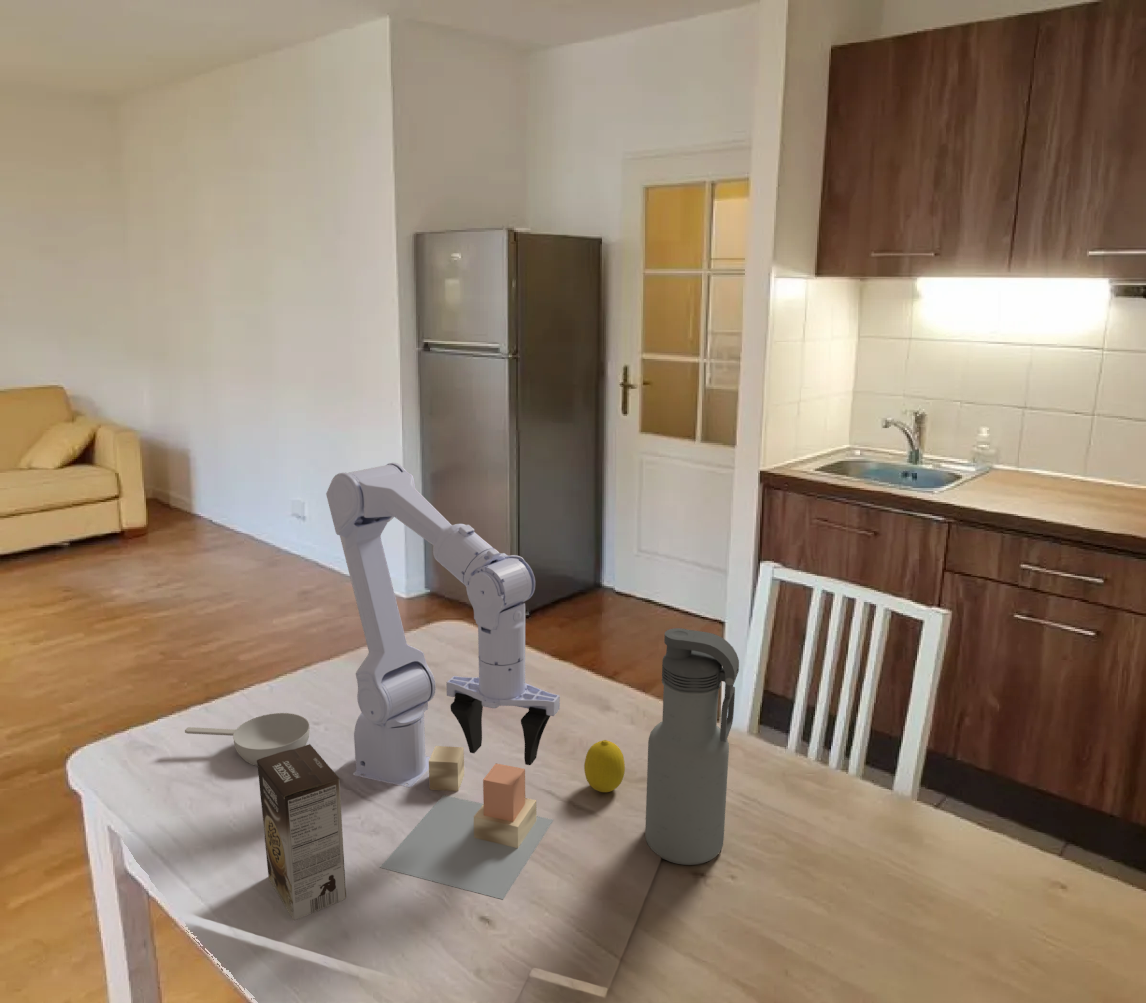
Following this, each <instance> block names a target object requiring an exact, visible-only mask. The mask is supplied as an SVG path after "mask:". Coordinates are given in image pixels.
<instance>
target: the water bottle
mask: <svg viewBox="0 0 1146 1003" xmlns="http://www.w3.org/2000/svg"><path fill="white" fill-rule="evenodd" d="M663 640H664V642H663V643H664V645H666V652H665V655H663V657H662V661H661V662H662V663H661V664H662V666H661V667H662V668H661V670H662V671H661V683H662V686H663V691H662V692H663V694H662V696H663V698H662V720H661V721H660V722H659V723H657V724H656V725H655V726H654V727H653V729H652V730H651V732H650V734H649V735H648V740H647V741H648V742H647V768H646V769H647V770H646V771H647V772H646V798H645V827H644V829H645V831H644V832H645V833H644V834H645V841H646V843H647V845H648V847H649V848H650V849H651V850H652V851H653V853H655V854H656V855H657V856H659V857H661V859H663V860H665V861H667V862H670V863H673V864H677V865H684V866H692V865H701V864H705V863H706V862H710V861H712V860H713V859H714V858H716V857H717V856H718V855H719V854H720V852H722V849H723V846H724V840H725V825H726V824H725V823H726V806H727V788H728V787H727V786H728V771H729V756H730V754H729V753H730V746H729V740H728V738H729V734H730V731H731V729H732V726H733V721H734V713H735V712H734V711H735V696H736V687H735V686H734V685H735V682H736V679H737V677H738V674H739V672H740V659H739V657H738V654H737V652H736V650H735V649H734V646H732V645H731V644H730V643H729V642H728V640H726V639H725V638H723V637H722V636H719V635H717V634H715V633H711V632H707V631H700V630H694V629H693V630H692V629H687V628H682V627H681V628H680V627H679V628H677V627H676V628H670V629H667V630H665V632H664V639H663ZM722 682H724V698H723V701H722V703H721V704H722V706H721V712H720V727H719V726H718V725H717V723H718V707H719V706H718V705H719V690H720V689H721V686H722Z"/></svg>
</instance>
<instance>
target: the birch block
mask: <svg viewBox="0 0 1146 1003" xmlns="http://www.w3.org/2000/svg"><path fill="white" fill-rule="evenodd" d="M464 750H465V748H464V746H463V747H462V746H446V745H445V746H444V745H435V746H434V748H433V751H432V753H431V755H430V756H429V757H430V759H429V770H428V780H429V782H428V783H429V784H428V785H429V790H431V791H433V790H435V791H445V792H446V791H448V792H449V791H450V792H459V791H460V788H461V785H462V783H463V780H464V777H465V752H464Z"/></svg>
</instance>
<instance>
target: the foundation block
mask: <svg viewBox="0 0 1146 1003" xmlns="http://www.w3.org/2000/svg"><path fill="white" fill-rule="evenodd" d="M482 804H483V805H482V807H481V808H480V809H479V811H478V812H477V813H476V814H475V816H474V838H477V839H481V840H486V841H490V842H494V843H498V844H502V845H507V846H511V847H515V848H519V846H520V845H521V843H522V842H523V840H524V839H525V837H526V836H527V834H528V833H529V831H530V830H531V828H532V827H533V825H534V824H535V822H536V816H537V800H536V799H533V798H528V797H527V798H526V797H525V805H524V806H523V808H522V810H521V811H520V813H519V814H518V816H517V817H516V819H515V820H514V822H513V821H508V820H503V819H498V818H494V817H489V816H484V803H482Z"/></svg>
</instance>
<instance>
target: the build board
mask: <svg viewBox="0 0 1146 1003" xmlns="http://www.w3.org/2000/svg"><path fill="white" fill-rule="evenodd" d="M483 804H484V803H483V802H482V803H481V802H477V801H472V800H468V799H463V798H459V797H456V796H450V795H446V794H445V795H444V794H443V795H441V797H440V798H439V799H438V801H437V802H436V803H435V804H434V805H433V806H432V808H430V809H429V811H428V812H427V813H426V814H425V816H423V818H422V819H420V821H419V822H418V823H417V824H416V826H414V828H413V829H412V831H410V832H409V833H408V835H407V836H406V837H405V838H404V839H403V840H402V841H401V843H400V844H399V845H398V846H397V847H396V848H395V849H394V851H393V852H392V853H391V854H390V855H389V856H388V857H387V859H386V860H385V861H384V862H383V863H382V865H381V866H380V867H379V868H381V869H384V870H388V871H392V872H396V873H399V874H403V875H407V876H410V877H414V878H419V879H422V880H426V881H430V882H434V883H437V884H441V885H445V886H450V887H451V888H457V889H460V890H464V891H468V892H472V893H475V894H480V895H484V896H486V897H491V898H495V899H499V900H504V899H505V897H506V895H507V894H508V893H509V891H510V890H511V888H512V886H513V885H514V884H515V881H516V880H517V878H518V877H519V875H520V874H521V872H522V870H524V867H525V866H526V865H527V862H528V861H529V860H530V858H531V856H532V855H533V854H534V852H535V850H536V848H537V847H538V846H539V844H540V842H541V841H542V839H543V838H544V836H545V834H546V833H547V831H548V829H549V828H550V826H551V825H552V824H553V822H554V819H553V818H548V817H543V816H539V815H536V822H535V824H534V825H533V827H532V828H531V830H530V831H529V833H528V834H527V836H526V837H525V839H524V840H523V842H522V843H521V845H520V846H519V848H515V847H511V846H507V845H502V844H498V843H494V842H490V841H486V840H481V839H477V838H474V816H475V814H476V813H477V812H478V811H479V809H480V808H481V807H482V805H483Z"/></svg>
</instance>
